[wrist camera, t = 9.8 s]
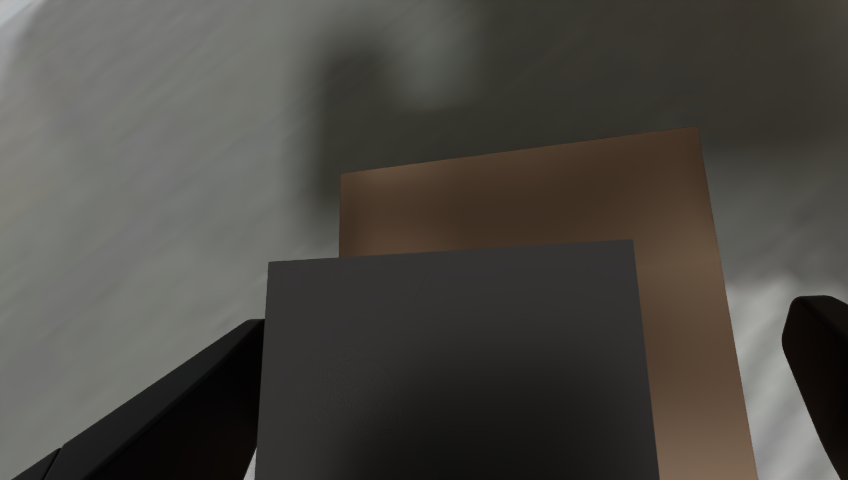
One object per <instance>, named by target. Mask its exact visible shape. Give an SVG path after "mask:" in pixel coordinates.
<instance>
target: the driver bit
mask: <svg viewBox="0 0 848 480" xmlns="http://www.w3.org/2000/svg"><path fill="white" fill-rule="evenodd" d="M255 480H660V475H659V466H658V458H657V449H656V440H655V431H654V422H653V413H652V404H651V395H650V386H649V378H648V369H647V360H646V351H645V342H644V333H643V324H642V315H641V306H640V298H639V289H638V280H637V271H636V262H635V253H634V244H633V239H626V240H610V241H594V242H578V243H562V244H546V245H530V246H514V247H499V248H483V249H467V250H451V251H435V252H419V253H403V254H387V255H371V256H355V257H339V258H323V259H307V260H292V261H276V262H269V265H268V280H267V296H266V311H265V327H264V342H263V357H262V373H261V388H260V404H259V419H258V435H257V450H256V466H255Z"/></svg>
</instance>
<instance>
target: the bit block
mask: <svg viewBox="0 0 848 480" xmlns="http://www.w3.org/2000/svg"><path fill="white" fill-rule="evenodd" d="M626 239H633V244H634V253H635V262H636V271H637V280H638V289H639V298H640V306H641V315H642V324H643V333H644V342H645V351H646V360H647V369H648V378H649V386H650V395H651V404H652V413H653V422H654V431H655V440H656V449H657V458H658V466H659V475H660V480H758V476H757V470H756V464H755V459H754V453H753V447H752V441H751V435H750V429H749V424H748V418H747V412H746V406H745V400H744V395H743V389H742V383H741V377H740V371H739V366H738V360H737V354H736V348H735V342H734V337H733V331H732V325H731V319H730V313H729V308H728V302H727V296H726V290H725V284H724V279H723V273H722V267H721V261H720V255H719V250H718V244H717V238H716V232H715V226H714V221H713V215H712V209H711V203H710V197H709V192H708V186H707V180H706V174H705V168H704V163H703V157H702V151H701V145H700V139H699V134H698V128H697V126H692V127H685V128H677V129H670V130H662V131H655V132H647V133H640V134H632V135H625V136H618V137H610V138H603V139H595V140H588V141H580V142H573V143H565V144H558V145H550V146H543V147H536V148H528V149H521V150H513V151H506V152H498V153H491V154H483V155H476V156H468V157H461V158H453V159H446V160H439V161H431V162H424V163H416V164H409V165H401V166H394V167H386V168H379V169H371V170H364V171H357V172H349V173H342V174H340V229H339V257H355V256H371V255H387V254H403V253H419V252H435V251H451V250H467V249H483V248H499V247H514V246H530V245H546V244H562V243H578V242H594V241H610V240H626Z"/></svg>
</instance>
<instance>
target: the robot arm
mask: <svg viewBox="0 0 848 480" xmlns="http://www.w3.org/2000/svg"><path fill="white" fill-rule="evenodd" d="M264 327H265V319H250V320H247V321H245V322H244V323H242V324H241V325H239V326H238V327H236V328H235V329H233V330H232V331H230V332H229V333H227V334H226V335H224V336H223V337H221V338H220V339H219V340H217V341H216V342H214V343H213V344H211V345H210V346H208V347H207V348H205V349H204V350H202V351H201V352H199V353H198V354H196V355H195V356H194V357H192V358H191V359H189V360H188V361H186V362H185V363H183V364H182V365H180V366H179V367H177V368H176V369H174V370H173V371H171V372H170V373H168V374H167V375H166V376H164V377H163V378H161V379H160V380H158V381H157V382H155V383H154V384H152V385H151V386H149V387H148V388H146V389H145V390H143V391H142V392H140V393H139V394H138V395H136V396H135V397H133V398H132V399H130V400H129V401H127V402H126V403H124V404H123V405H121V406H120V407H118V408H117V409H115V410H114V411H112V412H111V413H110V414H108V415H107V416H105V417H104V418H102V419H101V420H99V421H98V422H96V423H95V424H93V425H92V426H90V427H89V428H87V429H86V430H85V431H83V432H82V433H80V434H79V435H77V436H76V437H74V438H73V439H71V440H70V441H68V442H67V443H65V444H64V445H63V446H62V448H58V449H56V450H55V451H53V452H52V453H50V454H49V455H47V456H46V457H45V458H43V459H42V460H40V461H39V462H37V463H36V464H34V465H33V466H31V467H30V468H28V469H27V470H25V471H24V472H22V473H21V474H19V475H18V476H16V477H15V478H13V479H12V480H244V477H245V475H246V472H247V470H248V467H249V465H250V462H251V460H252V457H253V455H254V452H255V450H256V447H257V435H258V419H259V404H260V388H261V373H262V357H263V342H264ZM782 347H783V351H784V354H785V356H786V358H787V361H788V363H789V366H790V368H791V371H792V373H793V376H794V378H795V380H796V383H797V385H798V388H799V390H800V393H801V395H802V397H803V400H804V402H805V405H806V407H807V410H808V412H809V415H810V417H811V419H812V422H813V424H814V427H815V429H816V432H817V434H818V436H819V438H820V441H821V443H822V445H823V447H824V449H825V451H826V453H827V455H828V457H829V459H830V461H831V463H832V465H833V467H834V468H835V470H836V472H837V474H838V476H839V478H840V479H841V480H848V304H846V303H844V302H842V301H840V300H838V299H836V298H834V297H831V296H826V295H819V296H800V297H797V298H795V299H794V300H793V301H792V303H791V305H790V308H789V312H788V316H787V319H786V323H785V326H784V330H783V334H782Z"/></svg>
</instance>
